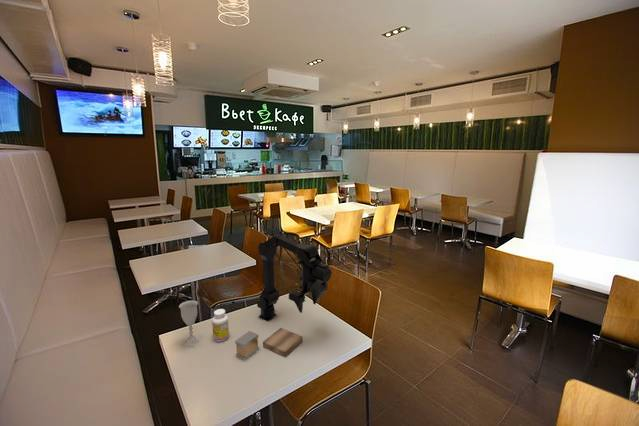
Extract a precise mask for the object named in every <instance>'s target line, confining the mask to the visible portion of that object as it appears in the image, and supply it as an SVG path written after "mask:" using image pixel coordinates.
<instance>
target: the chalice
mask: <svg viewBox="0 0 639 426" xmlns="http://www.w3.org/2000/svg"><path fill="white" fill-rule="evenodd" d="M198 303H199V302H198V301H197V300H185V301H184V302H181V303H180V304H179V306H178V308H179V309H180V317H181V319H182V321H183V323H185V324H186V326H189V327H188V330H189V332H188V334H189V336H188V338H186V342H185V346H186V347H193V346H196V345H197V344H198V343H199V339H198V338H197V337H196V336H195V335H193V333H194V331H193V325H194V324H195V322H196V319H197V317H198Z"/></svg>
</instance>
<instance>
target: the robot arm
mask: <svg viewBox="0 0 639 426" xmlns="http://www.w3.org/2000/svg"><path fill="white" fill-rule="evenodd" d="M278 247H281V248H283V249H284V250H286V251H288V252H291V253H293V254H294V255H295V256H296V257H297V259H299V261H297V264H298V265H301V276H300V277H299V280H300V281H301V285H299V289H300V290H301V291H299V290H297V289H295V290H293V291H290V292H289V293H288V300H289V301H292V302H294V304H295V306H296V307H297V310H298V311H299V312H298V313H300V314H301V313H303V309H304V302H306V300H305V299H306V295H308V294H309V293H311V299H312V303H313V305H316V304H317V302H318V299H319V298H321V297H322V296H325V294H326V292H327V291H328V284H329V283H328V282H329V281H330V279H331V277H332V276H333V275H332V273H333V272H332V270H331V268H330V267H329V264H324V263H323V259H322V257H321V256H320V254H319V251H318V250H317V248H316V246H315V245H311V244H306V243H304V244H303V243H299V242H297V241H295V240H293V239H290V238H288V237H286V236H284V235H283V234H276V235H273V236H272V237H270V238H269V239H267V240H266V241H262V242H259V244H258V255H259V256H260V258H261V259H262V269H263V273H262V274H263V289H262V290H261V293H260V299H259V300H258V301H257V302H256V306H257V308H259V309H260V315H259V316H258V319H262V320H264V321H266V322H269V321H271V320H272V319H273V318H275V317H276V316H277V314H276V313H275V312H276V310H275V304H277V302H278V301H279V298H280V291H279V289H277V288H276V287H275V267H274V265H275V264H274V258H275V256H276V254H277V248H278Z"/></svg>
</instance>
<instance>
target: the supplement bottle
mask: <svg viewBox="0 0 639 426" xmlns="http://www.w3.org/2000/svg"><path fill="white" fill-rule="evenodd" d="M211 323H212V325H211V327H212V338H213V340H214V341H215V342H218V343H220V342H225V341H226V340H227V339H229V337H230V332H229V331H230V330H229V328H230V327H229V316H228V315H227V314H226V310H225V309H224V308H217V309H216V310H214V311H213V317H212V319H211Z"/></svg>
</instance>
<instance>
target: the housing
mask: <svg viewBox="0 0 639 426" xmlns="http://www.w3.org/2000/svg"><path fill="white" fill-rule="evenodd" d="M258 339H259V334H258V333H256V332H253V331H251V330H248V331H247V332H246V333H244V334H243V335H242V336H240V337H239V338H237V339H236V340H235V341H234V342H235V346H236V353H235V357H237V358H239V359H240V360H243V361H246V360H248V359H249V358H250V357H251V356H252V355H254V354H256V352H258V351H259V350H260V346H259V343H258V341H259V340H258Z"/></svg>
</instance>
